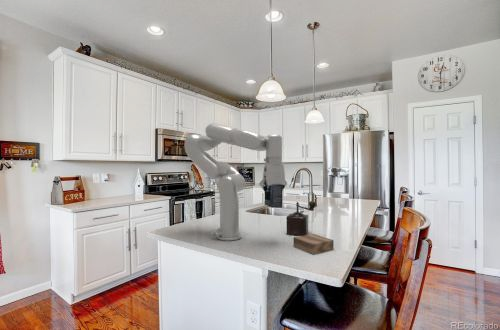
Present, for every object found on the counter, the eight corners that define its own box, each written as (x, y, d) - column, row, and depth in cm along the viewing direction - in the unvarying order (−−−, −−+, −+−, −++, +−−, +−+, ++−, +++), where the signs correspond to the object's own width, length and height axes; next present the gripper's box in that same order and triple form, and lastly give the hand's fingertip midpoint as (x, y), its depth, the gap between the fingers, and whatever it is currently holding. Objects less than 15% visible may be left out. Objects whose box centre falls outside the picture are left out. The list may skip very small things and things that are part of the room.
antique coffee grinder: (285, 235, 131) (285, 200, 131) (289, 229, 141) (289, 197, 141) (316, 238, 125) (315, 201, 126) (318, 232, 136) (318, 199, 136)
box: (264, 205, 121) (264, 183, 121) (274, 204, 123) (274, 182, 123) (271, 207, 113) (272, 184, 113) (282, 207, 116) (283, 184, 116)
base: (313, 254, 102) (313, 244, 102) (293, 246, 112) (293, 237, 112) (333, 249, 108) (333, 240, 108) (313, 242, 118) (313, 233, 118)
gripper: (262, 161, 110) (262, 202, 110) (293, 161, 119) (292, 199, 119) (253, 161, 117) (253, 199, 117) (283, 161, 126) (282, 197, 126)
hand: (273, 199), depth 118 cm, fingers closed on box, 6 cm apart
